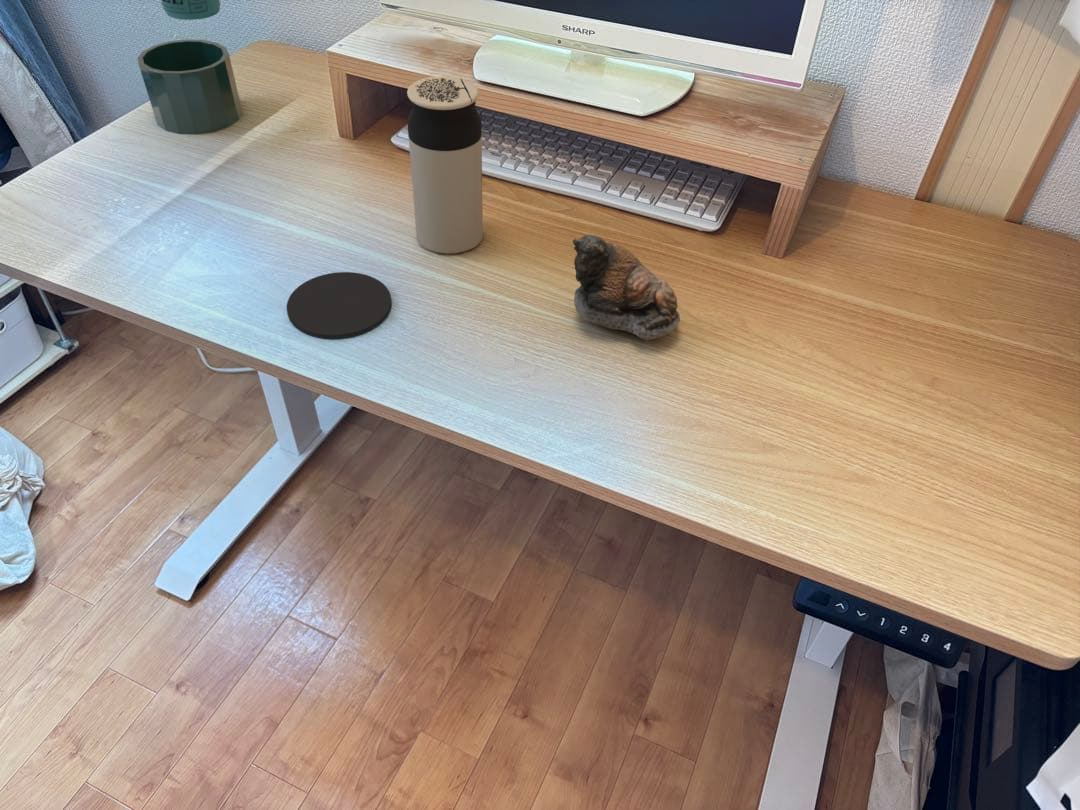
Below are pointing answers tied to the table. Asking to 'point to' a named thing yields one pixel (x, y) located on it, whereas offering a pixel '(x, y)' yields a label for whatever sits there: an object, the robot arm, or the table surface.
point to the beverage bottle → (191, 8)
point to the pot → (190, 86)
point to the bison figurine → (621, 290)
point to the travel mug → (446, 163)
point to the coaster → (339, 305)
